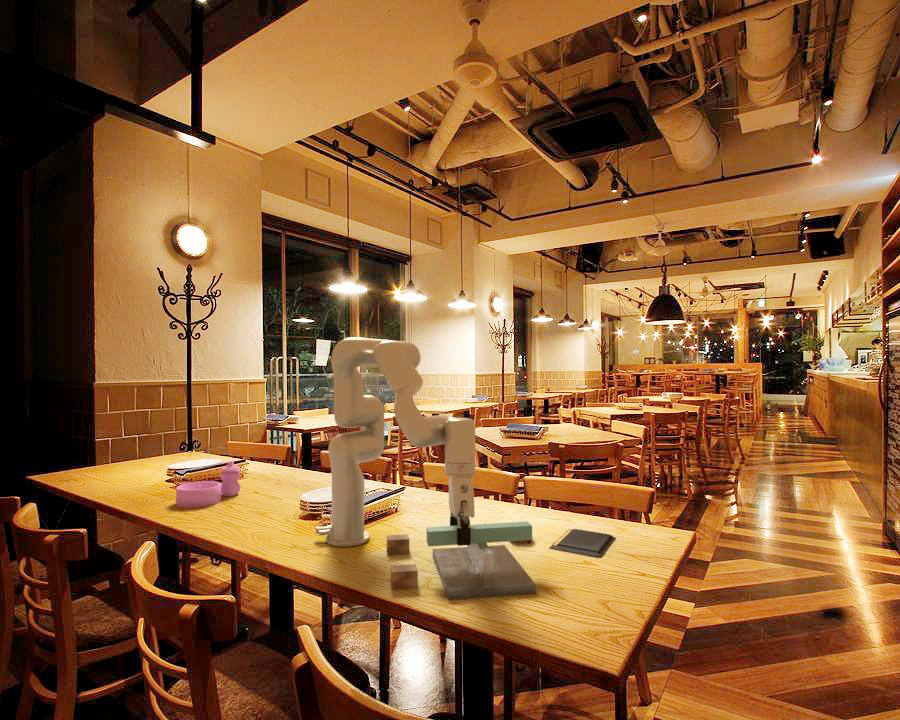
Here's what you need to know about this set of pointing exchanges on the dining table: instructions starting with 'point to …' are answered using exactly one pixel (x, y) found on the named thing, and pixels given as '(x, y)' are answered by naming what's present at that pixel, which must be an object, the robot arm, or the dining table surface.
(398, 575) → the batten rest
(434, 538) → the teal batten
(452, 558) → the ridge stand
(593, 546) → the dark grey flat block
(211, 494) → the container set
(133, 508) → the dining table surface
